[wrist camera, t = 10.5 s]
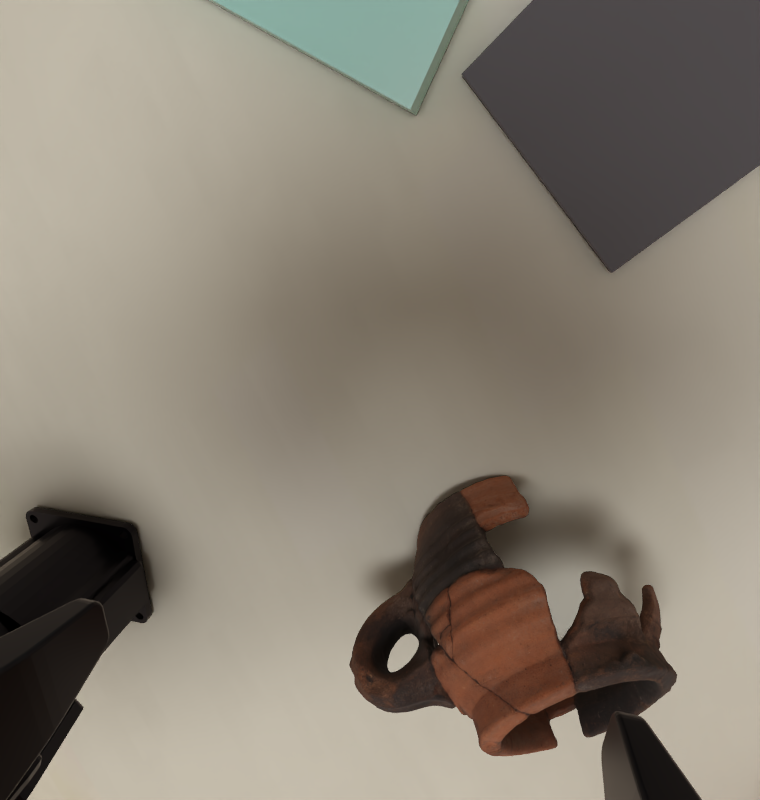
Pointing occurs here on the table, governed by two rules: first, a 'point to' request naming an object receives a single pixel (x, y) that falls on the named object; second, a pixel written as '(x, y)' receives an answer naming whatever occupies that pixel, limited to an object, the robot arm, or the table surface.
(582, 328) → the table surface
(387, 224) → the table surface
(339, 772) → the table surface
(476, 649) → the pottery mug
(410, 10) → the teal base plate
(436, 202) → the table surface
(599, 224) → the mat
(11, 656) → the robot arm
